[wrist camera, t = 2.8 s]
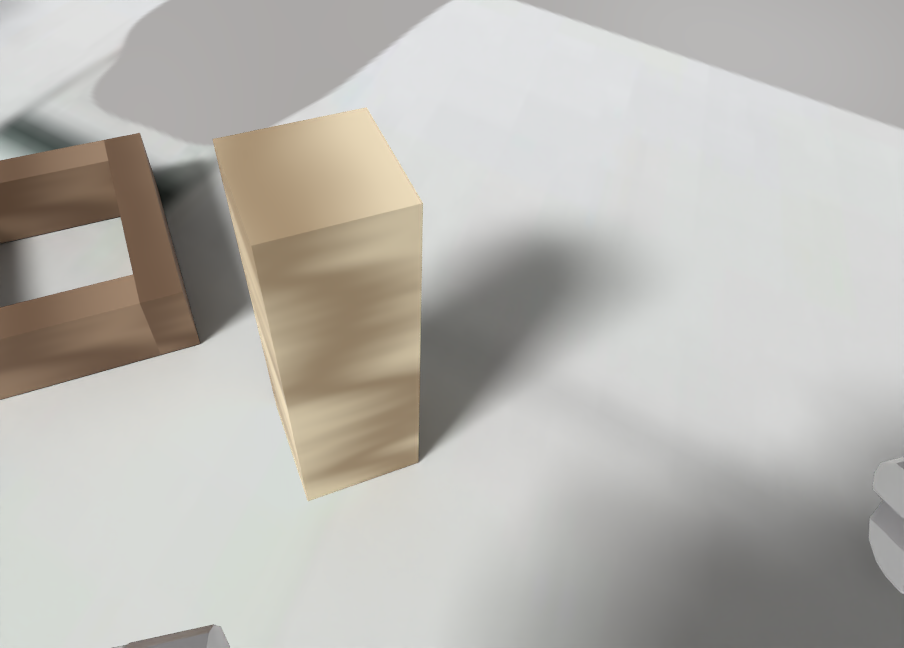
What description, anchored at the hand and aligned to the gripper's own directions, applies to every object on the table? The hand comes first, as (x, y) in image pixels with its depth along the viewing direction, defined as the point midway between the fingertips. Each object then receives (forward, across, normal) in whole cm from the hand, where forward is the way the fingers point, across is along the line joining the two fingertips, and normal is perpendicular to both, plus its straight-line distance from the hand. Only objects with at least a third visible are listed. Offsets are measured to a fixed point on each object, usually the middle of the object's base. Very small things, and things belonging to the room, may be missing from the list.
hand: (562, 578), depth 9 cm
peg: (+17, +4, +8) cm, 19 cm away
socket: (+24, +15, +3) cm, 29 cm away
